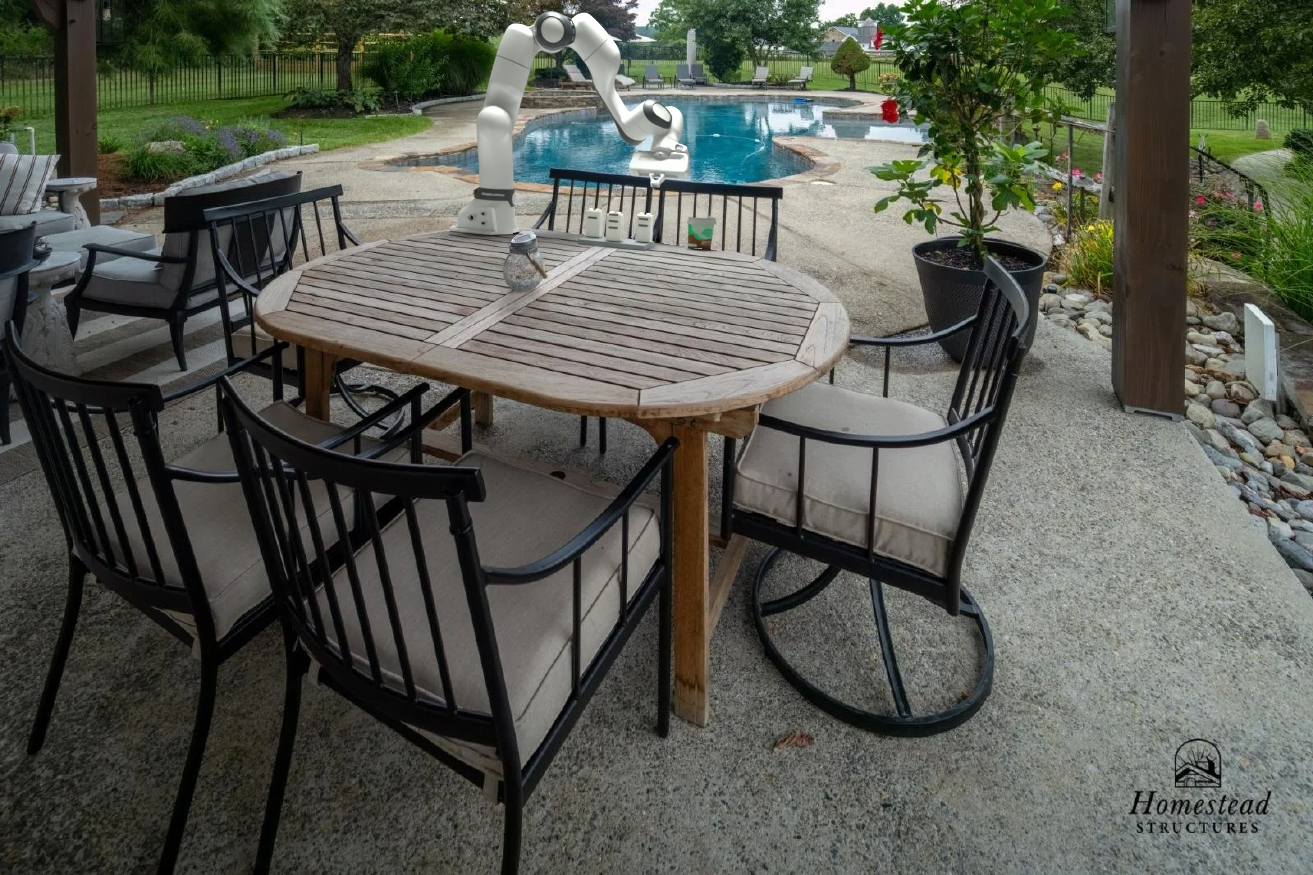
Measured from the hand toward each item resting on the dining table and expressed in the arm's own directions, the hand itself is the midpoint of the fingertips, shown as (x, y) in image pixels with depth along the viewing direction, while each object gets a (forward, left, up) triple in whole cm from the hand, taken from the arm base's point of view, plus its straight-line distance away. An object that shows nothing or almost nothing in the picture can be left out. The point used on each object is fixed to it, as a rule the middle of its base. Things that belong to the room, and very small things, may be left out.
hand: (654, 186), depth 247 cm
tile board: (-10, -13, -18) cm, 24 cm away
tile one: (-18, -9, -16) cm, 26 cm away
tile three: (-11, -15, -16) cm, 25 cm away
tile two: (-2, -12, -16) cm, 20 cm away
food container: (+18, -6, -18) cm, 26 cm away
